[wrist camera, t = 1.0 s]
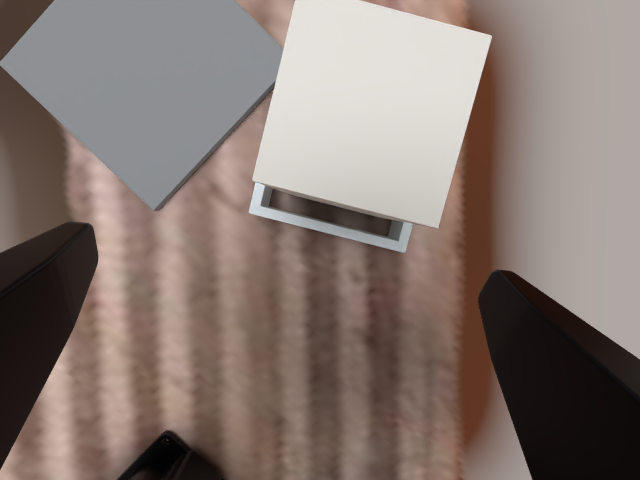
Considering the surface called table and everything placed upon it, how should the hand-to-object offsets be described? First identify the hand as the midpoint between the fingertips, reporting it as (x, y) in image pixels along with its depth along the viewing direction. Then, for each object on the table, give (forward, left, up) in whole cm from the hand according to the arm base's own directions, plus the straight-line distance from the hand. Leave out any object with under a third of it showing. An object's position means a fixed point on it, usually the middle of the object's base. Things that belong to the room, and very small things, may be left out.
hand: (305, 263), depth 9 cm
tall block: (+4, +2, -16) cm, 16 cm away
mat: (0, +14, -16) cm, 21 cm away
